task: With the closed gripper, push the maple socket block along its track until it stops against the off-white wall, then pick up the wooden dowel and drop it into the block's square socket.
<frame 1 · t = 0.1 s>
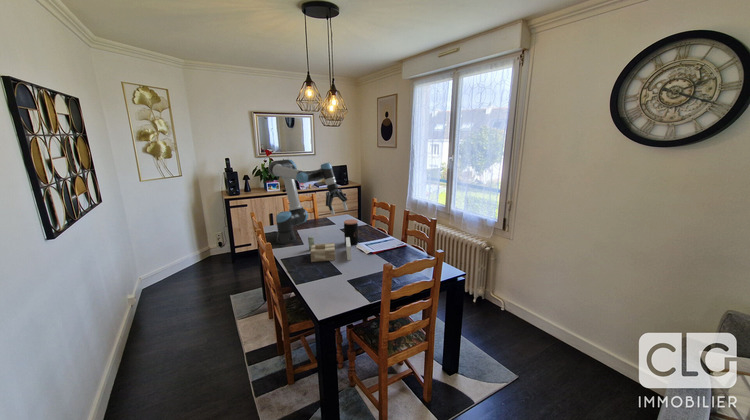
hand: (340, 212, 211), 28 cm above the table, tool tilted 20°, fingers open, 13 cm apart
socket block: (323, 252, 203), point 4 cm above the table, slide at 0.0 cm
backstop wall: (348, 254, 206), on the table
dowel: (312, 250, 216), on the table
coffee jar: (351, 243, 227), on the table
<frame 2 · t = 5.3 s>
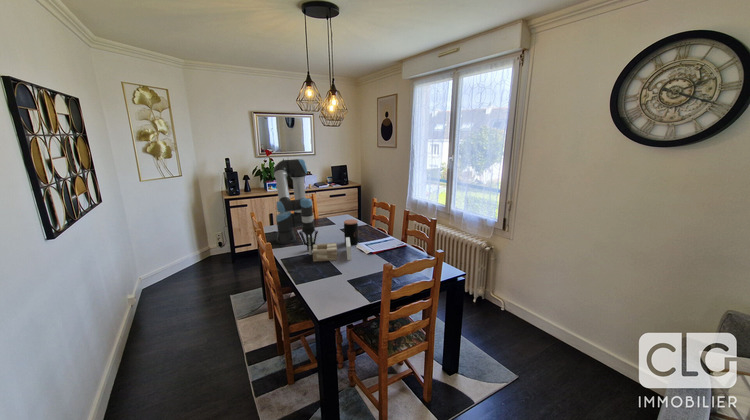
hand: (310, 253, 202), 3 cm above the table, tool pointing down, fingers closed
socket block: (325, 251, 203), point 4 cm above the table, slide at 1.4 cm, touching gripper
everything else where it was.
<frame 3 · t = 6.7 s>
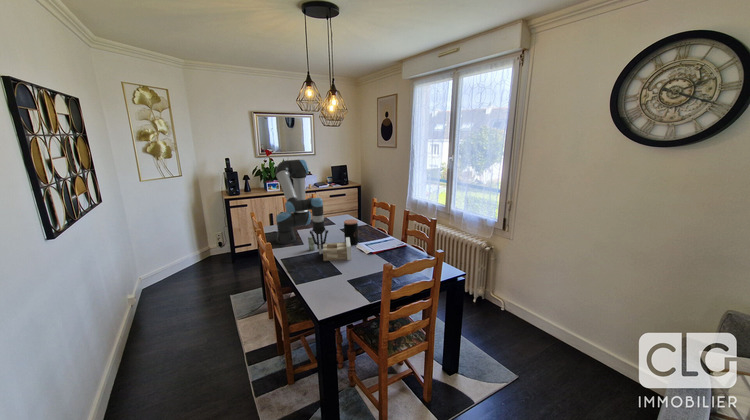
hand: (320, 253, 202), 3 cm above the table, tool pointing down, fingers closed
socket block: (335, 251, 204), point 4 cm above the table, slide at 8.2 cm, touching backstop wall, gripper
everything else where it was.
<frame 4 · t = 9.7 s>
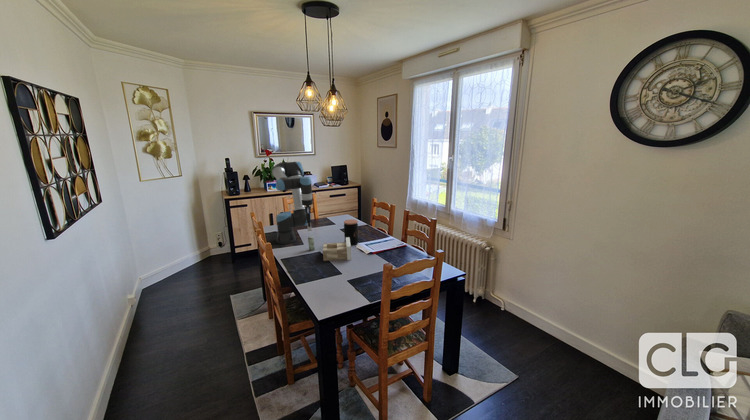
hand: (309, 230, 210), 16 cm above the table, tool pointing down, fingers closed
socket block: (335, 251, 204), point 4 cm above the table, slide at 8.2 cm
everything else where it was.
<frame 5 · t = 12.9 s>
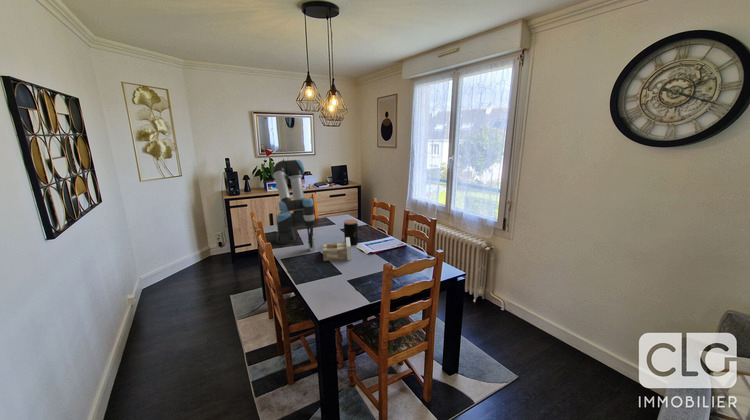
hand: (312, 249, 216), 0 cm above the table, tool pointing down, fingers closed on dowel, 4 cm apart
dowel: (312, 250, 216), on the table, touching gripper
everything else where it was.
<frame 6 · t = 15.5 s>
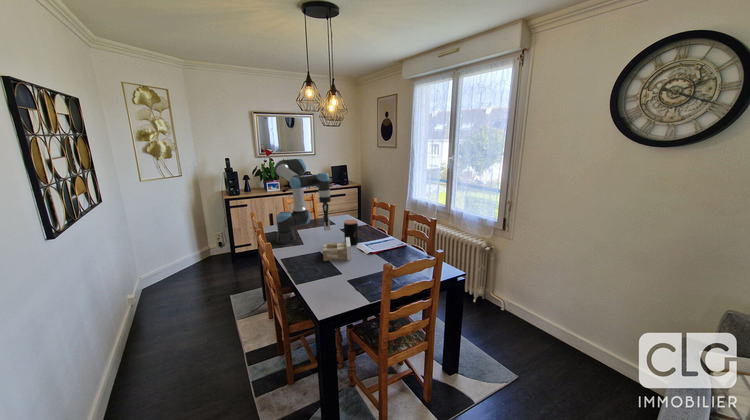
hand: (327, 229, 201), 19 cm above the table, tool pointing down, fingers closed on dowel, 4 cm apart
dowel: (327, 229, 201), point 19 cm above the table, touching gripper
everything else where it was.
when the fingers open (8 cm above the table, at t = 18.0 s): dowel drops 5 cm, resting on socket block.
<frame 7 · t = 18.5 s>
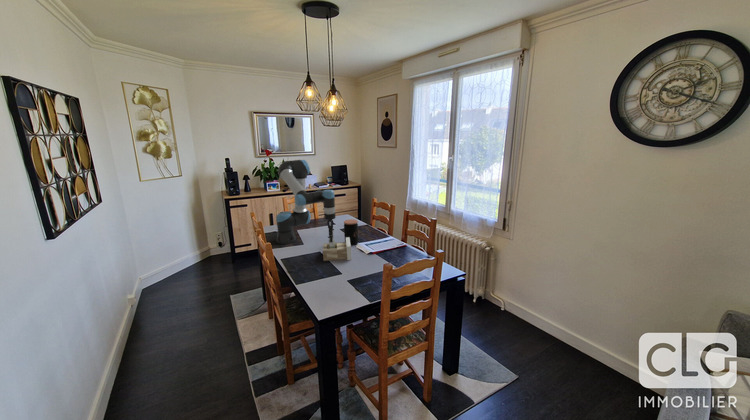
hand: (331, 242, 202), 10 cm above the table, tool pointing down, fingers open, 12 cm apart
socket block: (335, 251, 204), point 4 cm above the table, slide at 8.2 cm, touching dowel
dowel: (332, 253, 204), point 2 cm above the table, touching socket block
everything else where it was.
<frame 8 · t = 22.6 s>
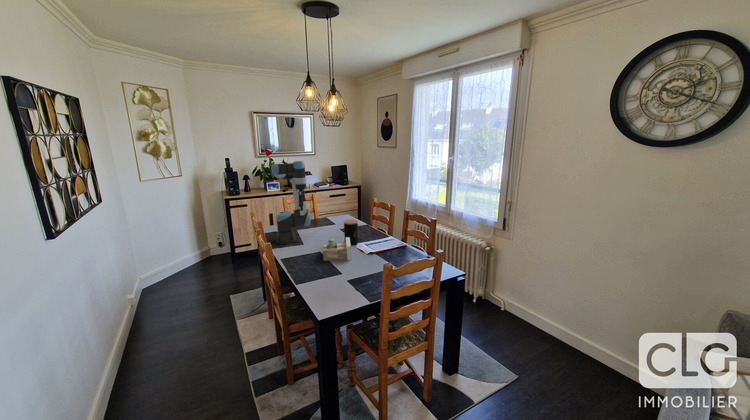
hand: (303, 212, 210), 29 cm above the table, tool pointing down, fingers open, 13 cm apart
nothing on the table moved.
at the end: socket block slide at 8.2 cm; dowel 0.4 cm from the target spot on the socket block, point 1.5 cm above the socket block's base; dowel tilted 0° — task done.
